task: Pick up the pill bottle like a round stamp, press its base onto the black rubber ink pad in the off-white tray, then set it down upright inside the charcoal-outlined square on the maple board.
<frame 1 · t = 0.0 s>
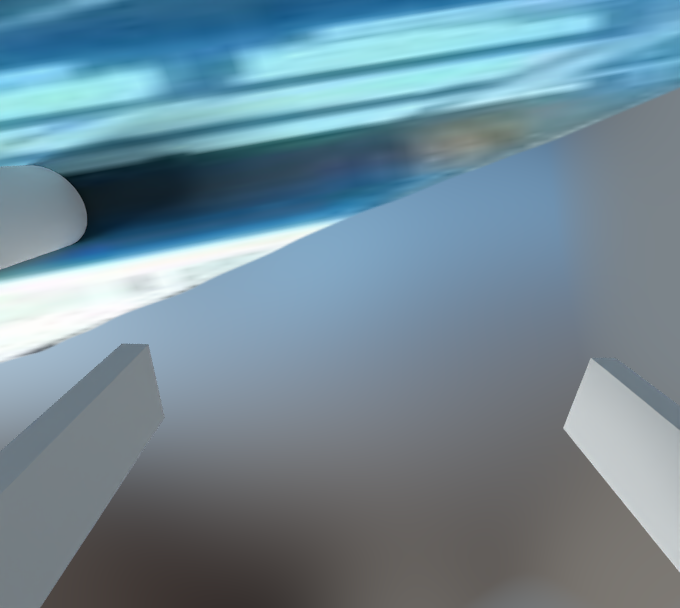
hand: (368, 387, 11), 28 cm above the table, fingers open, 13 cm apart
cup: (47, 207, 36), on the table
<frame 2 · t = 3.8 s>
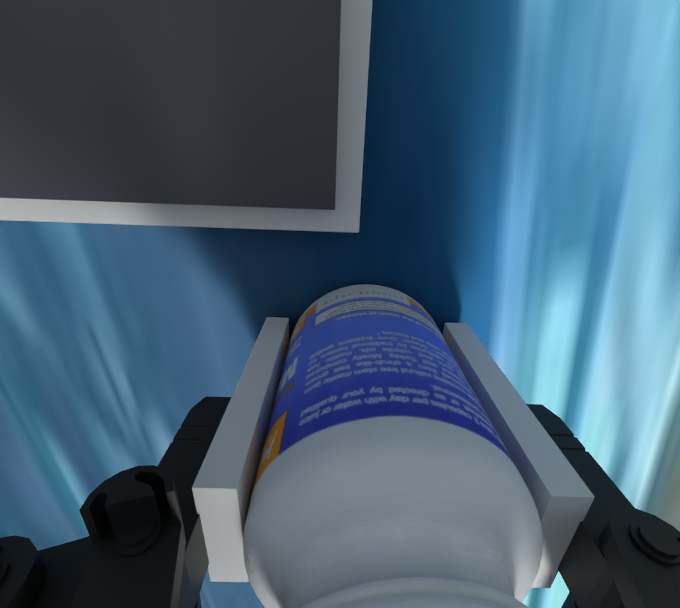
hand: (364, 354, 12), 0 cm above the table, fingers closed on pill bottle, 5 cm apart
pill bottle: (364, 346, 13), on the table, touching gripper
when the fingers open (2 cm above the table, at t = 13.1 s): pill bottle stays where it is, resting on marked board.
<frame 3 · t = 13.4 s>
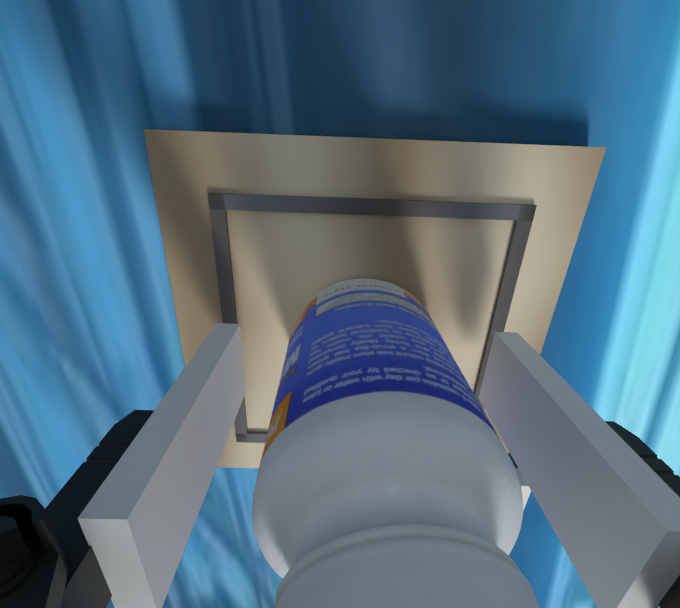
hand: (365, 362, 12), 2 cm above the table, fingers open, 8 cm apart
marked board: (361, 330, 14), on the table
pill bottle: (362, 338, 13), point 1 cm above the table, touching marked board
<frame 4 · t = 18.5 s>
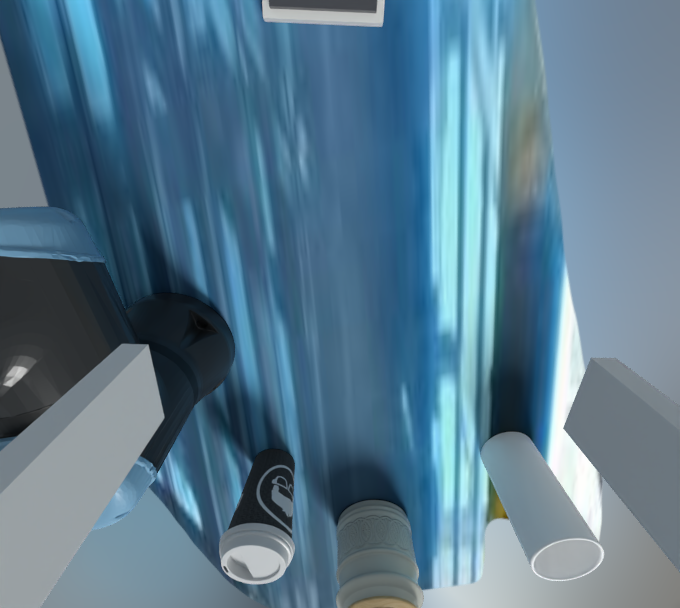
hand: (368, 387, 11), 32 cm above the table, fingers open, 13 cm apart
cup: (506, 450, 55), on the table
jar: (372, 520, 62), on the table
coffee cup: (274, 462, 56), on the table
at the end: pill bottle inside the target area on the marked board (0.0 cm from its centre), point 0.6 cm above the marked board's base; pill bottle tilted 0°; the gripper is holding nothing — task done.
